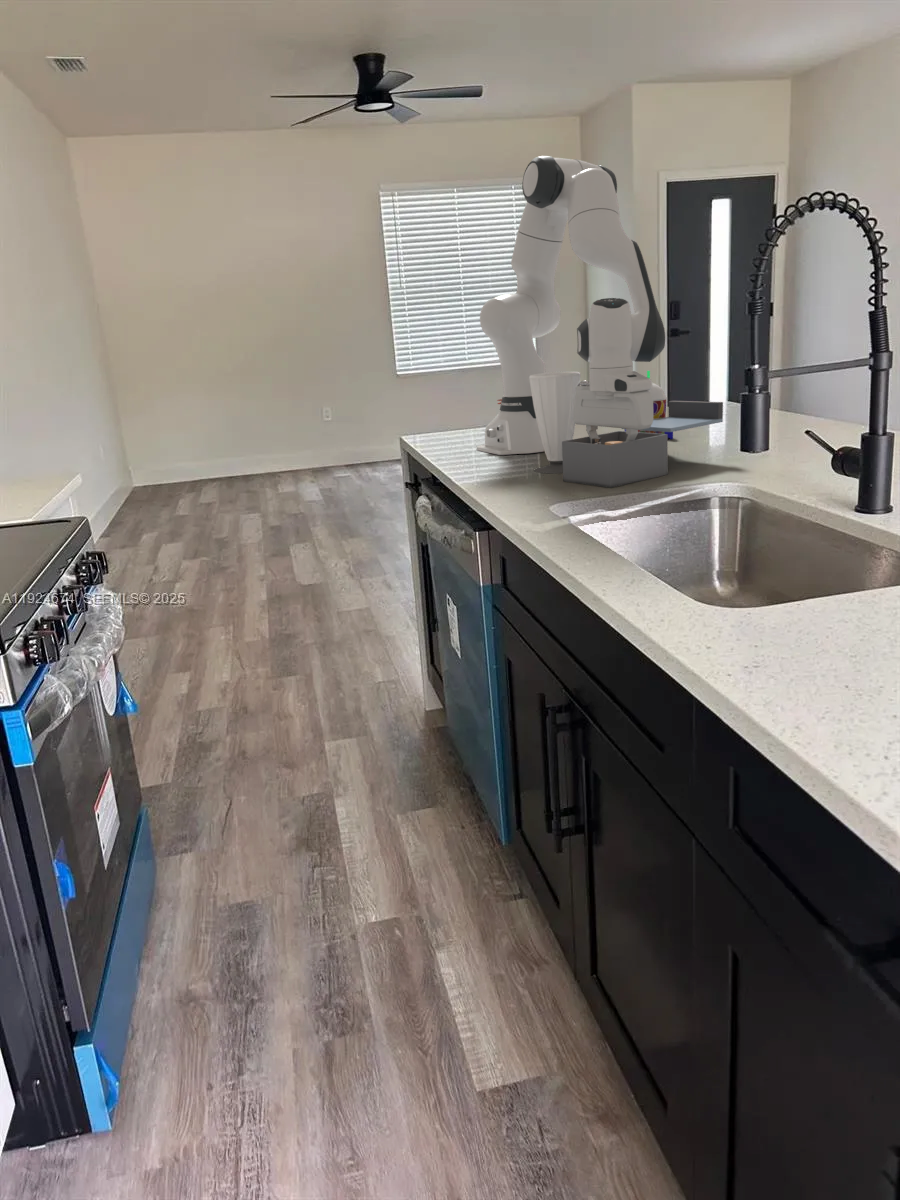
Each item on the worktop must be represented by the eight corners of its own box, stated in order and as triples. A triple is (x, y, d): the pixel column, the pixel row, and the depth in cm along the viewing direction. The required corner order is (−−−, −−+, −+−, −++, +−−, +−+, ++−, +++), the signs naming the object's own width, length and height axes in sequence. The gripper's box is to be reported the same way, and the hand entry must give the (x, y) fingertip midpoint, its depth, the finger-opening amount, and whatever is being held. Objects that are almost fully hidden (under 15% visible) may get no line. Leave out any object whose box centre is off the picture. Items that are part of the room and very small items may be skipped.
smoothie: (670, 457, 205) (670, 370, 198) (635, 460, 205) (633, 373, 199) (662, 452, 212) (662, 368, 206) (628, 455, 213) (627, 371, 207)
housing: (563, 481, 186) (561, 441, 183) (619, 468, 195) (618, 430, 192) (610, 487, 175) (609, 445, 172) (667, 474, 184) (667, 434, 181)
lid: (621, 428, 193) (621, 409, 192) (672, 419, 202) (672, 400, 201) (670, 432, 182) (670, 411, 181) (722, 422, 191) (722, 402, 190)
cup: (533, 467, 206) (528, 374, 200) (581, 464, 205) (579, 370, 199) (533, 475, 196) (529, 377, 189) (585, 472, 194) (582, 373, 188)
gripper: (565, 381, 185) (567, 446, 190) (636, 383, 169) (636, 454, 174) (587, 378, 189) (588, 442, 193) (658, 380, 173) (658, 450, 177)
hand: (611, 448), depth 183 cm, fingers open, 8 cm apart
